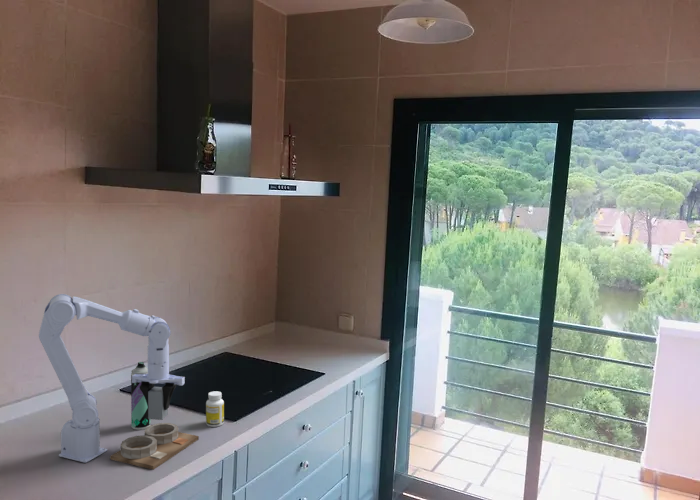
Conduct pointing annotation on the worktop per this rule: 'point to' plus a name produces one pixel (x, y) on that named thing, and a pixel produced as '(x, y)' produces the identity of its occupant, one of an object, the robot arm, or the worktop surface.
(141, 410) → the spray can
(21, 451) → the worktop surface
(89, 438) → the robot arm
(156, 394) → the plug
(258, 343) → the worktop surface
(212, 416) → the supplement bottle
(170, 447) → the socket board
